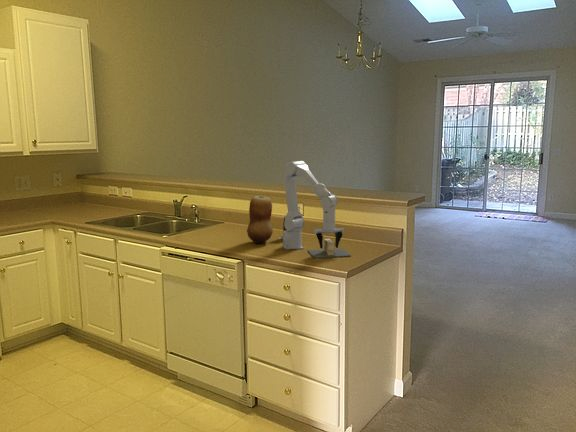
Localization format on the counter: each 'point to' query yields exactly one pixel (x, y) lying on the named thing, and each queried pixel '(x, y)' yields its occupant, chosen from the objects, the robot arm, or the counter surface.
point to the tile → (329, 246)
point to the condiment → (283, 229)
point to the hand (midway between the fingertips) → (328, 247)
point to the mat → (322, 254)
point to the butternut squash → (260, 219)
